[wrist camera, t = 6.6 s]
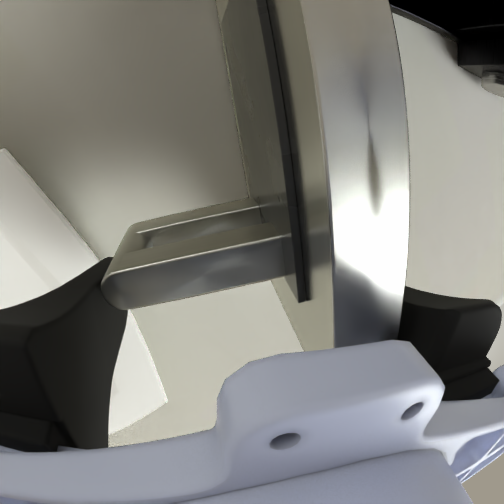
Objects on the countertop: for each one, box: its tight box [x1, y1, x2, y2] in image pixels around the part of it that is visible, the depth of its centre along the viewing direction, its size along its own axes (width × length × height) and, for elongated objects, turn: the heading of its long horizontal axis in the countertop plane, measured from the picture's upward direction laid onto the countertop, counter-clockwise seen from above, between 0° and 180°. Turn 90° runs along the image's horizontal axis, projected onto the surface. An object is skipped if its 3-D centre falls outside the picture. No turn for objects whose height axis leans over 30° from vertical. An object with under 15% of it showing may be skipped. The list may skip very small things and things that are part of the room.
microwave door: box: [101, 0, 410, 352], centre depth 9 cm, size 7×13×10 cm, turn 9°
